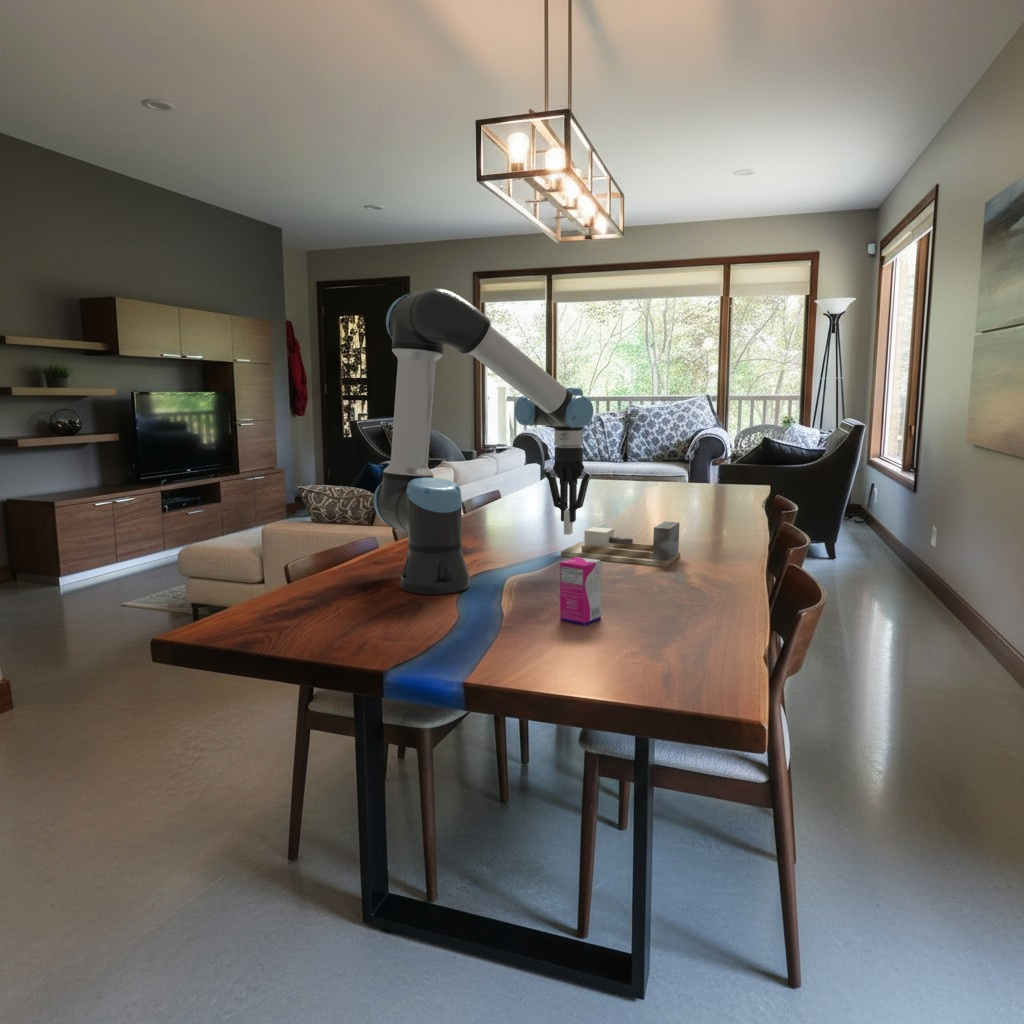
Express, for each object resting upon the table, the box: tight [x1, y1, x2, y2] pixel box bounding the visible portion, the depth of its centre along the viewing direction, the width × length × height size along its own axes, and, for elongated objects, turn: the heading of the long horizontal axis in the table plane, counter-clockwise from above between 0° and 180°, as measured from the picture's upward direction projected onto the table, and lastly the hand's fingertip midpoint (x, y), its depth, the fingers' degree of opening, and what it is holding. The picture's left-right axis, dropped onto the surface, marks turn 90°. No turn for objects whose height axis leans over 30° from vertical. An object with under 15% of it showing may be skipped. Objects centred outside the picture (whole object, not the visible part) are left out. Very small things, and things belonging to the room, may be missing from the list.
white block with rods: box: [583, 526, 634, 548], centre depth 200 cm, size 12×10×5 cm
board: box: [560, 521, 681, 568], centre depth 197 cm, size 28×14×9 cm, turn 64°
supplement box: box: [559, 557, 602, 627], centre depth 142 cm, size 6×6×12 cm
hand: (568, 533), depth 204 cm, fingers closed
